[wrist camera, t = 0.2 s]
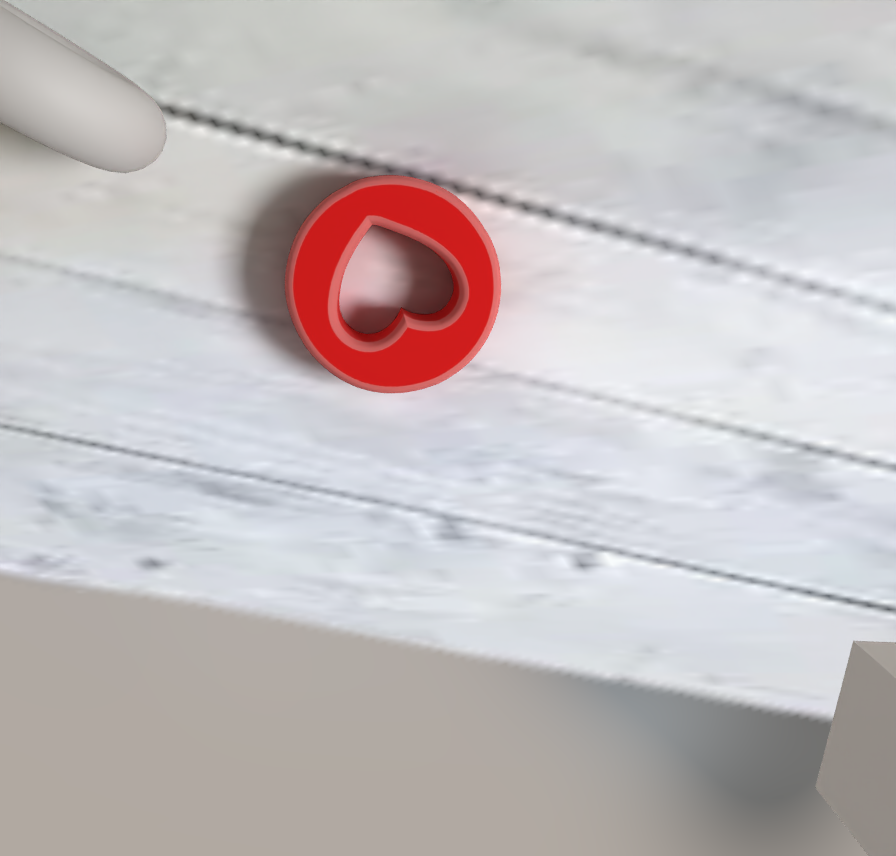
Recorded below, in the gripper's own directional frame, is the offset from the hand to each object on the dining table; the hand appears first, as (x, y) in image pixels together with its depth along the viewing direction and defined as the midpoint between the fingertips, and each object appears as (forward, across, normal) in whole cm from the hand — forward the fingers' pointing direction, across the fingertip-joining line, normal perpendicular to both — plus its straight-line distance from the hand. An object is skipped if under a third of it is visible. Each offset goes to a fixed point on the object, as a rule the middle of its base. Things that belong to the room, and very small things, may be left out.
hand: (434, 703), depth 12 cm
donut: (+28, -14, +11) cm, 33 cm away
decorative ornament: (+28, 0, +4) cm, 28 cm away
